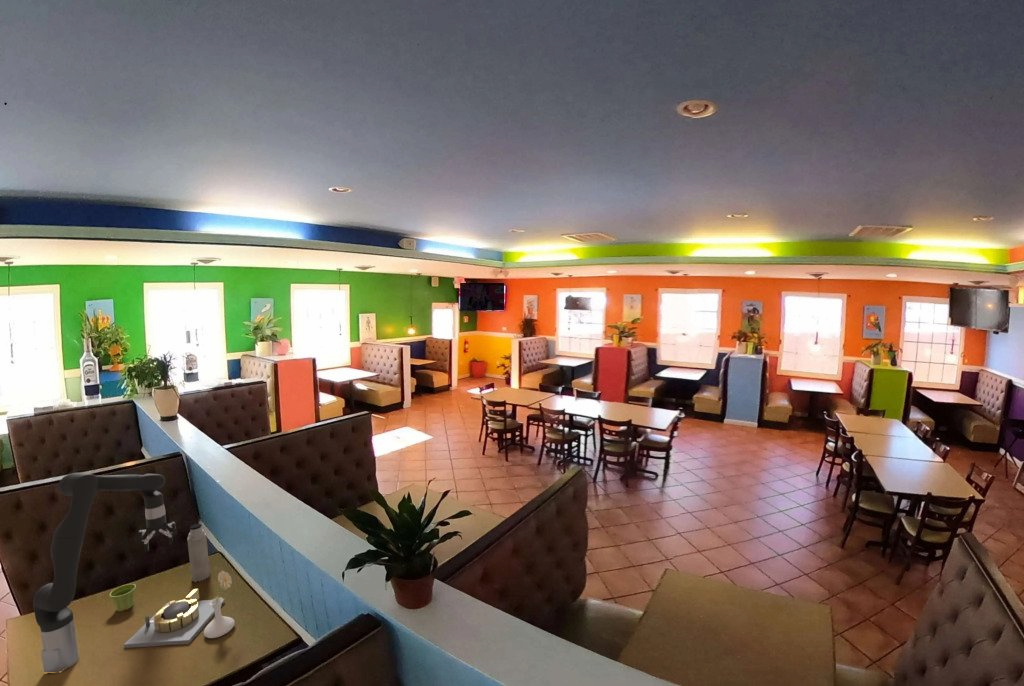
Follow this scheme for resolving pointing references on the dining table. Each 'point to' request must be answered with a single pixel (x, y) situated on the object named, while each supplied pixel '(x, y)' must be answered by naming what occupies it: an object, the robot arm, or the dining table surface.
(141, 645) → the boss plate
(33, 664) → the dining table surface
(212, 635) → the flower in vase
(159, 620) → the segmented wooden ring
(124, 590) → the plant pot
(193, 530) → the thermos bottle
